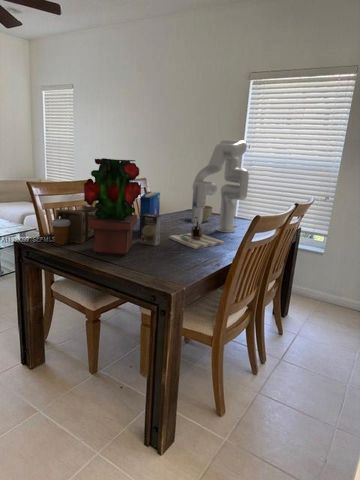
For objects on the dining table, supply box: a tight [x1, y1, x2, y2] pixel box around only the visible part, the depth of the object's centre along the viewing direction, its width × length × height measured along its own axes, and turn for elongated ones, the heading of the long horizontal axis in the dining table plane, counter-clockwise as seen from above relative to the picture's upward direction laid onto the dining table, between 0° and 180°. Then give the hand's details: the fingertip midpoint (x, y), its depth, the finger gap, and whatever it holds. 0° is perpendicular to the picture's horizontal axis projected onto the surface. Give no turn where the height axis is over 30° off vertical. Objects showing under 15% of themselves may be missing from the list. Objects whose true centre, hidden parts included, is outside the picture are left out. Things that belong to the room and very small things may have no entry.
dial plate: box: [168, 232, 225, 250], centre depth 194 cm, size 22×24×2 cm
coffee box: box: [140, 214, 162, 247], centre depth 182 cm, size 9×6×16 cm
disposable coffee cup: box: [51, 218, 71, 245], centre depth 173 cm, size 10×10×12 cm
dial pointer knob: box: [181, 226, 203, 239], centre depth 195 cm, size 12×5×6 cm, turn 63°
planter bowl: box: [191, 204, 214, 223], centre depth 254 cm, size 16×16×11 cm
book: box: [139, 191, 161, 236], centre depth 203 cm, size 22×7×25 cm, turn 168°
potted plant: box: [83, 157, 142, 257], centre depth 159 cm, size 22×22×45 cm
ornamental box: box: [55, 205, 99, 245], centre depth 191 cm, size 35×18×18 cm, turn 162°
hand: (196, 235), depth 194 cm, fingers closed on dial pointer knob, 3 cm apart
